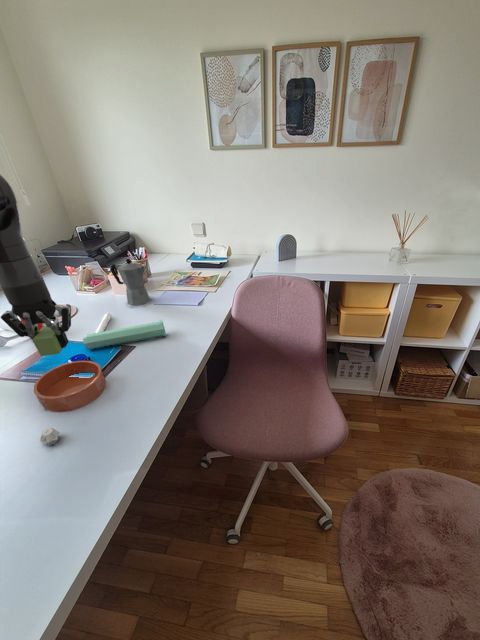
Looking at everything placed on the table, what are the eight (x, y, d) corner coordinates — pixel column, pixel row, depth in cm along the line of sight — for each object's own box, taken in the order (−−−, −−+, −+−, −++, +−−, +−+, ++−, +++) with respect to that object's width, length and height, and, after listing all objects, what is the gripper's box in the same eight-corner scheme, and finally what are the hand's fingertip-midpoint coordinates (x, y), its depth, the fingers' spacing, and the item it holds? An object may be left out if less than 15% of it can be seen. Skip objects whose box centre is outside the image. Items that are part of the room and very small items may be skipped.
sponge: (40, 356, 70) (32, 339, 67) (49, 342, 75) (42, 327, 72) (59, 353, 70) (51, 337, 68) (67, 340, 75) (60, 325, 73)
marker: (107, 316, 116) (105, 310, 115) (113, 315, 117) (111, 310, 115) (94, 339, 102) (92, 333, 100) (101, 339, 102) (99, 333, 101)
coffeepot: (158, 297, 131) (148, 255, 121) (148, 306, 123) (137, 263, 113) (125, 295, 133) (113, 254, 123) (113, 305, 125) (100, 262, 115)
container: (78, 335, 92) (161, 320, 99) (83, 333, 98) (162, 319, 104) (83, 353, 94) (165, 337, 100) (88, 350, 99) (166, 335, 105)
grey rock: (65, 434, 68) (59, 425, 66) (56, 447, 64) (50, 438, 63) (49, 434, 68) (43, 425, 66) (39, 448, 64) (33, 439, 63)
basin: (31, 416, 72) (22, 403, 70) (53, 377, 85) (46, 365, 82) (99, 406, 75) (93, 392, 72) (111, 369, 87) (106, 357, 85)
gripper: (63, 270, 67) (89, 336, 77) (-9, 276, 65) (28, 343, 74) (51, 282, 61) (81, 351, 71) (-28, 289, 59) (14, 360, 68)
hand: (54, 347), depth 72 cm, fingers closed on sponge, 4 cm apart
